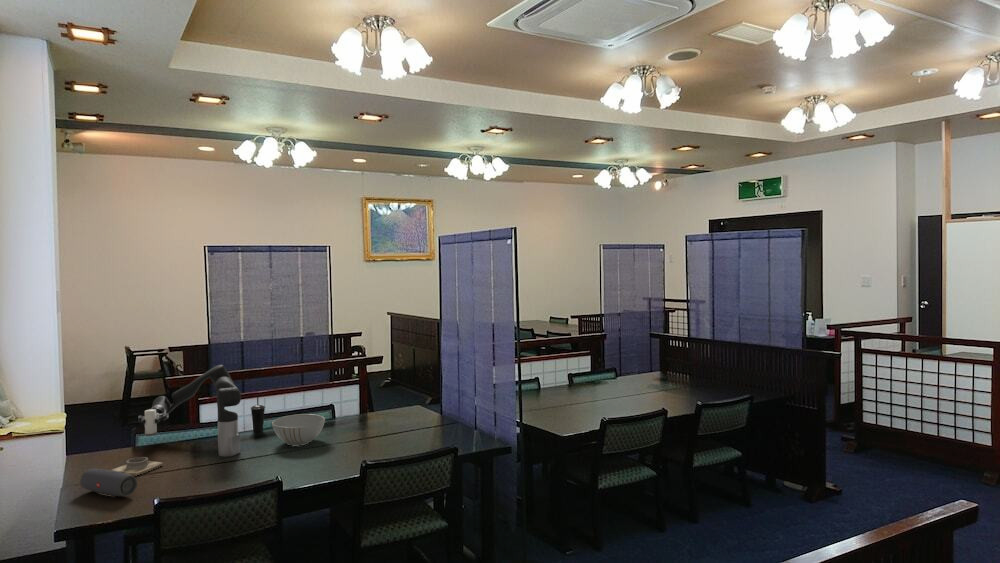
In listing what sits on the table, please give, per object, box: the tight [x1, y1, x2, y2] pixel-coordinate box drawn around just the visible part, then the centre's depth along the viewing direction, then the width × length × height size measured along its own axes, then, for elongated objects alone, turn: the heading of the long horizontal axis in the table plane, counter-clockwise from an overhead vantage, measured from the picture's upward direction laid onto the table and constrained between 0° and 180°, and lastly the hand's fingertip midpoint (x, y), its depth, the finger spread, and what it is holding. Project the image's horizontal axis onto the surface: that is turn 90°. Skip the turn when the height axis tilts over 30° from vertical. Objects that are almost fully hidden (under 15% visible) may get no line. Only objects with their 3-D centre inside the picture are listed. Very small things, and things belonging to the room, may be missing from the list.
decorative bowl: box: [271, 413, 326, 446], centre depth 330 cm, size 27×27×12 cm
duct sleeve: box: [144, 408, 158, 437], centre depth 307 cm, size 5×5×12 cm
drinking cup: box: [250, 395, 266, 433], centre depth 351 cm, size 8×8×20 cm
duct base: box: [110, 456, 164, 477], centre depth 289 cm, size 15×15×4 cm
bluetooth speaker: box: [79, 468, 138, 497], centre depth 259 cm, size 23×9×10 cm, turn 69°
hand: (149, 421), depth 305 cm, fingers closed on duct sleeve, 5 cm apart
